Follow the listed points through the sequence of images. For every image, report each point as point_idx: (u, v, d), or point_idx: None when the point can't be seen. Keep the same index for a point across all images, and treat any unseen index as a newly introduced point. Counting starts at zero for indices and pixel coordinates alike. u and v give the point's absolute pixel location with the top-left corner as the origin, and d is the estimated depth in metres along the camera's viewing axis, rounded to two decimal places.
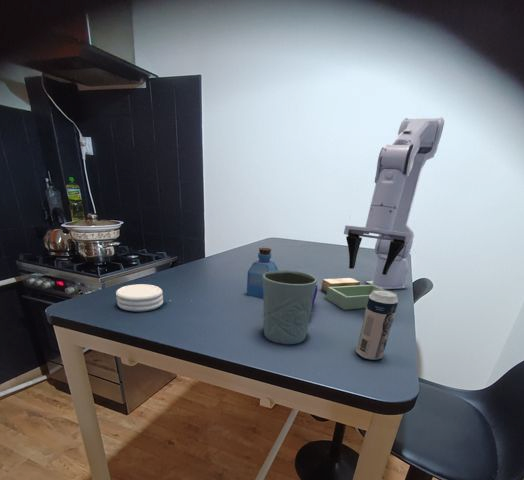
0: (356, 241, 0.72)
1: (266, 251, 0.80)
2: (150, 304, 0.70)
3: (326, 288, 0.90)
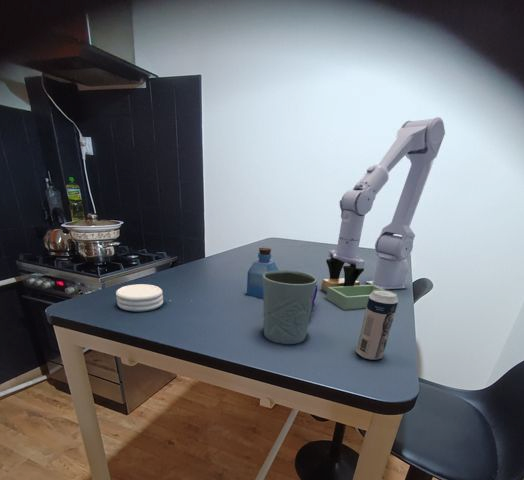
0: (332, 263, 0.92)
1: (266, 251, 0.80)
2: (150, 304, 0.70)
3: (326, 288, 0.90)
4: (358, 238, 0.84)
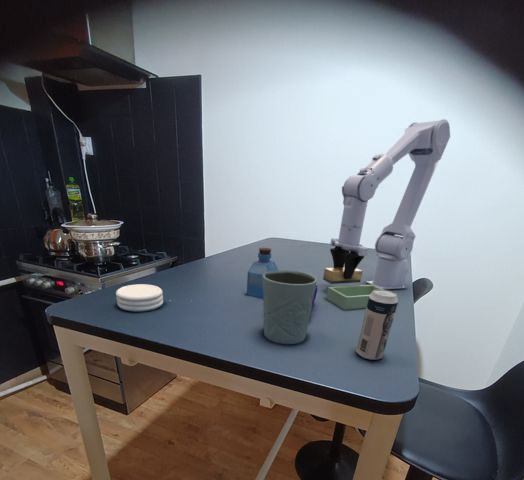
0: (336, 253, 0.90)
1: (266, 251, 0.80)
2: (150, 304, 0.70)
3: (328, 277, 0.89)
4: (361, 225, 0.83)
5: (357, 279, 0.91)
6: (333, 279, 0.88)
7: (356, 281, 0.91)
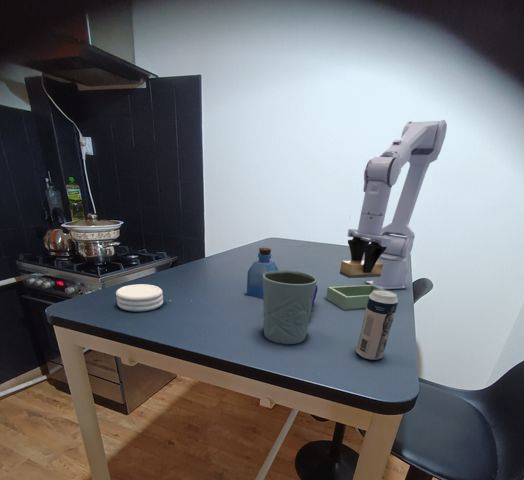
0: (355, 244, 0.82)
1: (266, 251, 0.80)
2: (150, 304, 0.70)
3: (346, 270, 0.81)
4: (385, 213, 0.76)
5: (377, 273, 0.83)
6: (351, 273, 0.80)
7: (376, 275, 0.83)
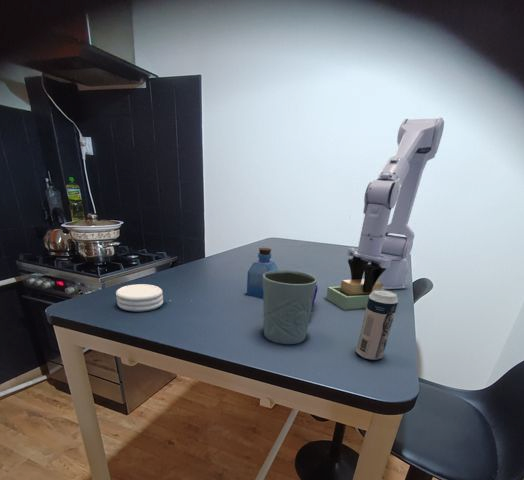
0: (355, 264, 0.83)
1: (266, 251, 0.80)
2: (150, 304, 0.70)
3: (346, 290, 0.82)
4: (385, 234, 0.77)
5: None
6: (351, 292, 0.81)
7: None
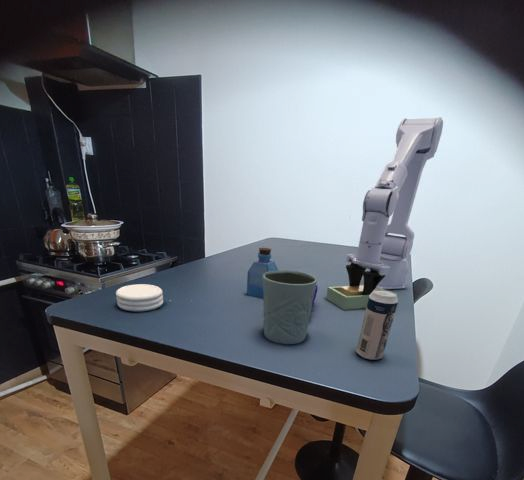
0: (353, 270, 0.84)
1: (266, 251, 0.80)
2: (150, 304, 0.70)
3: None
4: (383, 241, 0.77)
5: None
6: None
7: None
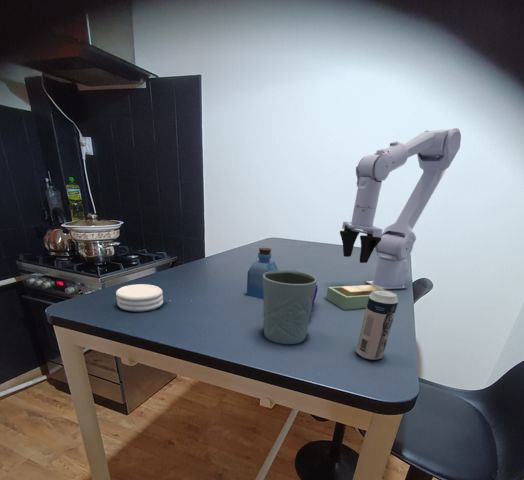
0: (346, 234, 0.90)
1: (266, 251, 0.80)
2: (150, 304, 0.70)
3: None
4: (375, 206, 0.82)
5: None
6: None
7: None
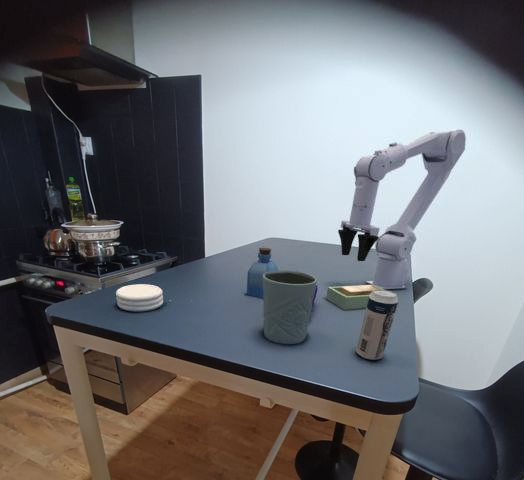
0: (344, 233, 0.92)
1: (266, 251, 0.80)
2: (150, 304, 0.70)
3: None
4: (372, 205, 0.83)
5: None
6: None
7: None
